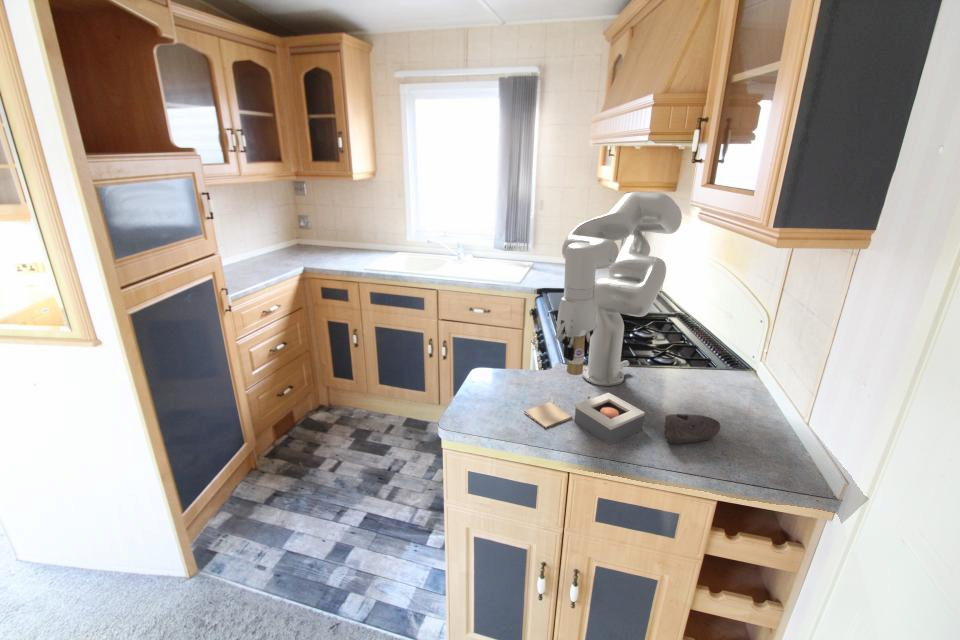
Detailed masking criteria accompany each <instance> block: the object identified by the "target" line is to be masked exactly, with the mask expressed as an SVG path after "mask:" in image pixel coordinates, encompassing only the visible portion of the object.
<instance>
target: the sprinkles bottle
mask: <svg viewBox="0 0 960 640" xmlns="http://www.w3.org/2000/svg"><path fill="white" fill-rule="evenodd" d="M585 334H586V331H585V330H582V331H581V332H580V334H579V335H577V336H574V341H573V345H572V347H574V359H573V361H570V360H568V359H566V362H567V364H566V369H565V370H566V371H565V372H567V373H568V375H572V376H580V375H582V373H583V369H584V360H585V356H584V347H585ZM567 340H568V341H569V339H567Z"/></svg>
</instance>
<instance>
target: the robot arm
mask: <svg viewBox="0 0 960 640" xmlns="http://www.w3.org/2000/svg"><path fill="white" fill-rule="evenodd" d="M682 215H683V214H682V210H681V208H680V206H679V205H678V204H677V203H676V201H675V200H673V198H672V197H671V196H669V195H668V194H666V193H662V192H651V191H632V192H627V193H625V194H624V195H623V196H622V197H621V198H620V199H619V200H618V201H617V203H615V205H614V206H613V207H612V208H611V209H610V210H609V211H608V213H606V214H605V213H604V214H603V215H600V216H597V217H594V218H591V219H588V220H586V221H584V222H582V223H579V224H578V225H577V226H575V228H574V229H573V230H572V231H571V232H570V233H569V234H568V235H567V236H566V238H565V240H564V242H563V245H562V247H561V254H562V257H563V259H564V261H565V262H564V287H563V297H561V298H560V302H559V305H558V312H557V319H556V331H557V332H556V334H555V336H554V339H555V340H557V341H558V342H560V343H561V344H562V345H563V358H565V359H566V360H567V359H568V360H570V361H573V359H574V347H572V345H573V341H574V336H577V335H579V334H580V332H581V331H582V330H585V331H586V334H585V347H584V357H586V356H588V360H587V361H588V363H587V366H586V367H583V373H582V374H581V375H582V378H583V377H584V378H585V379H586V380H585V379H584V378H583V379H584V380H585V381H586V382H588V381H589V382H588V383H590V382H591V383H590V384H593V385H597V386H601V387H602V386H603V387H611V386H617V385H619V384H622V383H623V382H624V377H625V375H624V373H623V372H622V370H623V368H626V367H629V366H630V362H629V360H623V361H622V360H621V358H622V349H623V341H624V340H623V339H624V333H625V324H624V320H623V317H622V315H626V316H632V317H637V318H640V317H641V318H643V317H644V316H646V315H648V313H649V312H650V311H651V308H652V307H653V305H654V303H655V301H656V299H657V297H658V295H659V293H660V290H661V288H662V287H663V285H664V283H665V279H666V276H667V275H666V274H667V265H666V263H665V260H663V258H661V257H657V256H652V255H650V252H651V246H650V244H649V241H648V240H647V237H646V236H645V235H644V234H643V232H646V233H655V234H664V235H665V234H666V235H670V234H674V233H676V232H677V231H678V230H679V228H680V226H681V224H682V219H683V217H682ZM620 240H623V241H622V245H621V246H620V248H619V246H618V244H617V243H616V241H620ZM606 268H609V270H608V275H609V277H601V278H598V279H597V280H596V270H602V269H606ZM621 314H622V315H621ZM568 340H569V341H568Z"/></svg>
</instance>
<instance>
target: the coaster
mask: <svg viewBox="0 0 960 640" xmlns="http://www.w3.org/2000/svg"><path fill="white" fill-rule="evenodd" d="M524 412H525V413H527V414H528V415H529V416H530V417H532V418H533V419H534V420H535V421H534V420H533V419H532V418H531V419H532V420H533V421H534V422H536V421H537V422H538V423H539V425H540V424H541V425H542V426H541V425H540V426H541V427H542V428H544V427H545V428H546V429H548V428H547V427H549V428H551V427H554V426H556V425H558V423H559V424H561V423H560V422H562V423H564V422H566V420H567V421H569V420H571V419H573V416H572V415H571V414H569V413H568V412H566V411H564V410H563V409H561V408H560V407H559V406H557V405H555V404H554V403H553V402H551V401H547V402H546V403H543V404H540V405H537V406H534V407H531V408H529V409H528V408H527V409H526V410H523V413H524ZM525 413H524V414H525ZM528 415H527V416H528ZM529 416H528V417H529ZM530 417H529V418H530ZM537 422H536V423H537ZM538 423H537V424H538ZM555 424H556V425H555ZM553 425H554V426H553ZM550 426H551V427H550ZM545 428H544V429H545Z"/></svg>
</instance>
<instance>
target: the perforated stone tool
mask: <svg viewBox="0 0 960 640" xmlns="http://www.w3.org/2000/svg"><path fill="white" fill-rule="evenodd" d="M664 417H665V418H664V419H665V420H664V428H665V429H664V436H665V437H664V438H665V440H666V442H667V443H672V444H686V443H687V444H689V443H697V442H702V441H708V440H709V439H711V438H713V437H715V436H716V435H717V434H719V432H720V431H721V423H720V422H719V421H718V420H717V419H714V418H713V417H709V416H706V415H697V414H689V413H687V414H686V413H677V414H676V413H675V414H666V415H665V416H664Z"/></svg>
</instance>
